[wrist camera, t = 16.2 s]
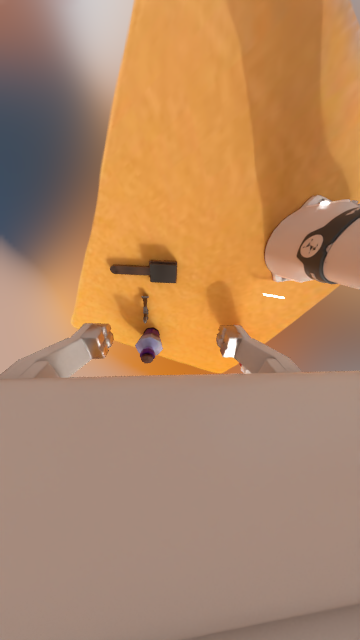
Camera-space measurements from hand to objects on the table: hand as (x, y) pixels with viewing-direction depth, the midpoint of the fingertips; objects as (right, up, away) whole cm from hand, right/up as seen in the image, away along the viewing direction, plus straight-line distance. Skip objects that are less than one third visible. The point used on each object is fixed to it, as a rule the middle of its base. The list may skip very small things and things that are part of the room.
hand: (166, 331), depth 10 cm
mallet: (-8, +14, +25) cm, 30 cm away
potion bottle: (-9, -4, +37) cm, 38 cm away
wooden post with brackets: (-9, +5, +31) cm, 33 cm away
